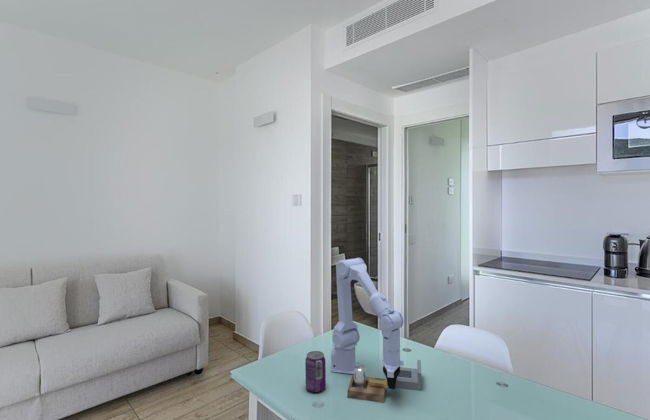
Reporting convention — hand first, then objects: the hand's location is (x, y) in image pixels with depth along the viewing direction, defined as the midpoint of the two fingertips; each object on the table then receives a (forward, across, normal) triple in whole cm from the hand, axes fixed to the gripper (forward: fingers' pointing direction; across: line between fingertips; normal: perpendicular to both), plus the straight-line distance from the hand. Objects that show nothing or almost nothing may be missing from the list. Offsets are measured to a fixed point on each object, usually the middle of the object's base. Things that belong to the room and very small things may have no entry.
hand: (391, 387), depth 113 cm
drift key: (0, 0, +5) cm, 5 cm away
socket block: (+2, 0, +8) cm, 9 cm away
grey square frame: (+2, +10, -4) cm, 11 cm away
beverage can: (+3, -2, +26) cm, 27 cm away
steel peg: (+2, 0, +11) cm, 11 cm away
